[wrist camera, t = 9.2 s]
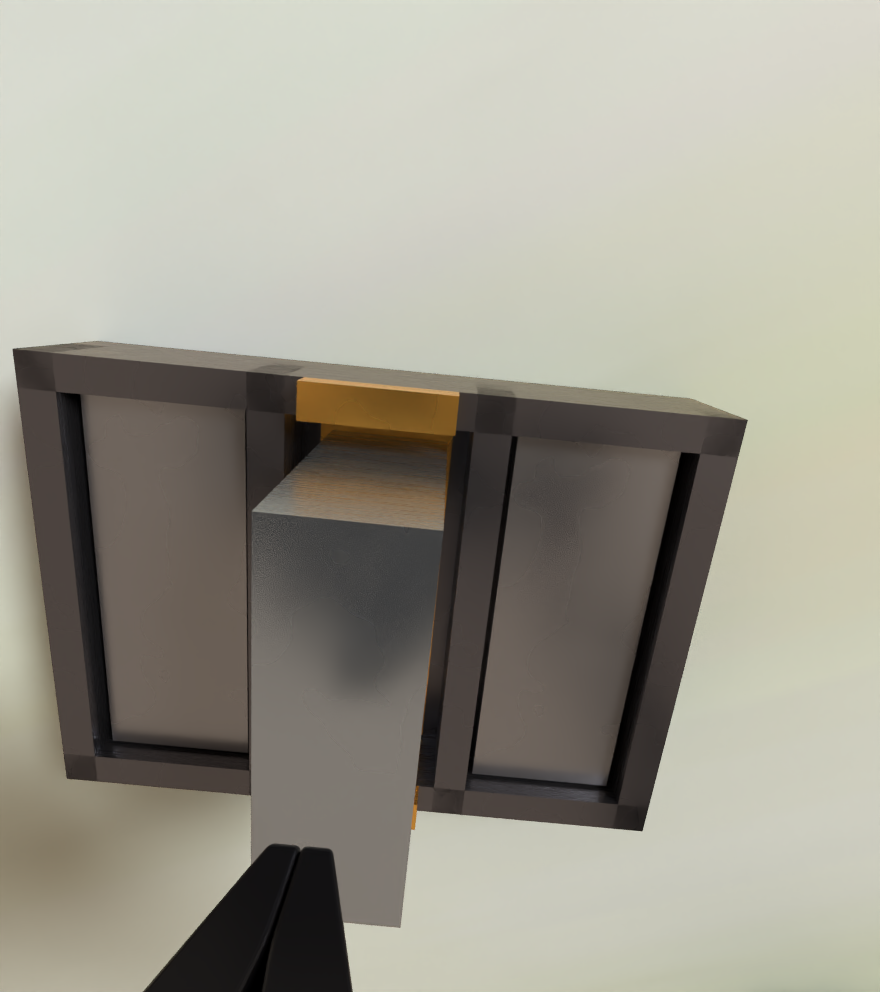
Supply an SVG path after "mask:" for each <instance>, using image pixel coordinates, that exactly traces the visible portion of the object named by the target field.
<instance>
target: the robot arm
mask: <svg viewBox="0 0 880 992" xmlns="http://www.w3.org/2000/svg"><path fill="white" fill-rule="evenodd" d="M143 992H353V991H352V983H351V976H350V969H349V962H348V954H347V947H346V940H345V933H344V925H343V918H342V911H341V904H340V897H339V889H338V882H337V875H336V868H335V860H334V854H333V851H332V850H331V849H329V848H321V847H310V846H307V847H304V848H303V849H302V850H301V849H300V847H299V846H296V845H289V844H278V843H274V844H271V845H269V846H267V847H266V848H265V849H264V851H263V852H262V853H261V854H260V855H259V856H258V858H257V859H256V860H255V861H254V862H253V863H252V865H251V866H250V867H249V868H248V869H247V870H246V872H245V873H244V874H243V875H242V876H241V878H240V879H239V880H238V881H237V882H236V883H235V885H234V886H233V887H232V888H231V889H230V890H229V892H228V893H227V894H226V895H225V896H224V897H223V899H222V900H221V901H220V902H219V903H218V904H217V906H216V907H215V908H214V909H213V910H212V912H211V913H210V914H209V915H208V916H207V917H206V919H205V920H204V921H203V922H202V923H201V924H200V926H199V927H198V928H197V929H196V930H195V931H194V933H193V934H192V935H191V936H190V937H189V939H188V940H187V941H186V942H185V943H184V944H183V946H182V947H181V948H180V949H179V950H178V951H177V953H176V954H175V955H174V956H173V957H172V958H171V960H170V961H169V962H168V963H167V964H166V965H165V967H164V968H163V969H162V970H161V971H160V973H159V974H158V975H157V976H156V977H155V978H154V980H153V981H152V982H151V983H150V984H149V985H148V987H147V988H146V989H145V990H144V991H143Z"/></svg>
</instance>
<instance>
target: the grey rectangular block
mask: <svg viewBox="0 0 880 992" xmlns="http://www.w3.org/2000/svg"><path fill="white" fill-rule="evenodd" d="M446 463H447V442H446V441H436V440H427V439H417V438H407V437H397V436H388V435H378V434H368V433H358V432H349V431H339V430H332V431H331V432H330V433H329V434H328V435H327V436H326V437H325V438H324V439H323V440H322V441H321V442H320V443H319V444H318V445H317V446H316V447H315V448H314V449H313V450H312V451H311V452H310V453H309V454H308V455H307V456H306V457H305V458H304V459H303V460H302V461H301V462H300V463H299V464H298V465H297V466H296V467H295V468H294V469H293V470H292V471H291V472H290V473H289V474H288V475H287V476H286V477H285V478H284V479H283V480H282V481H281V482H280V483H279V484H278V485H277V486H276V487H275V488H274V489H273V490H272V491H271V492H270V493H269V494H268V495H267V496H266V497H265V498H264V499H263V500H262V501H261V502H260V503H259V504H258V505H257V506H256V507H255V508H254V509H253V510H252V578H251V865H252V863H253V862H254V861H255V860H256V859H257V858H258V856H259V855H260V854H261V853H262V852H263V851H264V849H265V848H266V847H267V846H269V845H271V844H274V843H278V844H289V845H296V846H299V847H300V849H301V850H302V849H303V848H304V847H307V846H310V847H321V848H329V849H331V850H332V851H333V854H334V860H335V868H336V875H337V882H338V889H339V897H340V904H341V911H342V918H343V922H345V923H356V924H366V925H377V926H387V927H398V928H400V926H401V917H402V907H403V898H404V889H405V880H406V871H407V861H408V852H409V843H410V834H411V825H412V815H413V806H414V797H415V788H416V779H417V769H418V760H419V751H420V742H421V732H422V723H423V714H424V705H425V696H426V686H427V677H428V668H429V659H430V650H431V640H432V631H433V622H434V613H435V604H436V594H437V585H438V576H439V567H440V558H441V548H442V539H443V529H444V507H445V485H446Z"/></svg>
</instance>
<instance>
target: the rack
mask: <svg viewBox="0 0 880 992" xmlns="http://www.w3.org/2000/svg"><path fill="white" fill-rule="evenodd" d="M13 356H14V364H15V372H16V380H17V388H18V396H19V404H20V412H21V420H22V427H23V435H24V443H25V451H26V459H27V467H28V475H29V483H30V491H31V499H32V507H33V515H34V522H35V530H36V538H37V546H38V554H39V562H40V570H41V578H42V586H43V594H44V602H45V610H46V617H47V625H48V633H49V641H50V649H51V657H52V665H53V673H54V681H55V689H56V697H57V705H58V712H59V720H60V728H61V736H62V744H63V752H64V760H65V768H66V776H67V779H78V780H89V781H100V782H111V783H122V784H133V785H144V786H154V787H165V788H176V789H187V790H198V791H209V792H220V793H231V794H242V795H251V578H252V510H253V509H254V508H255V507H256V506H257V505H258V504H259V503H260V502H261V501H262V500H263V499H264V498H265V497H266V496H267V495H268V494H269V493H270V492H271V491H272V490H273V489H274V488H275V487H276V486H277V485H278V484H279V483H280V482H281V481H282V480H283V479H284V478H285V477H286V476H287V475H288V474H289V473H290V472H291V471H292V470H293V469H294V468H295V467H296V466H297V465H298V464H299V463H300V462H301V461H302V460H303V459H304V458H305V457H306V456H307V455H308V454H309V453H310V452H311V451H312V450H313V449H314V448H315V447H316V446H317V445H318V444H319V443H320V442H321V441H322V440H323V439H324V438H325V437H326V436H327V435H328V434H329V433H330V432H331V431H332V430H339V431H349V432H358V433H368V434H378V435H388V436H397V437H407V438H417V439H427V440H436V441H446V442H447V463H446V485H445V507H444V529H443V539H442V548H441V558H440V567H439V576H438V585H437V594H436V604H435V613H434V622H433V631H432V640H431V650H430V659H429V668H428V677H427V686H426V696H425V705H424V714H423V723H422V732H421V742H420V751H419V760H418V769H417V779H416V788H415V797H414V806H413V815H412V825H411V829H412V830H415V822H416V813H417V811H427V812H438V813H449V814H460V815H471V816H482V817H493V818H504V819H515V820H526V821H537V822H548V823H559V824H569V825H580V826H591V827H602V828H613V829H624V830H635V831H643V827H644V823H645V819H646V815H647V811H648V807H649V803H650V799H651V795H652V792H653V788H654V784H655V780H656V776H657V772H658V768H659V764H660V760H661V756H662V753H663V749H664V745H665V741H666V737H667V733H668V729H669V725H670V721H671V717H672V713H673V710H674V706H675V702H676V698H677V694H678V690H679V686H680V682H681V678H682V674H683V671H684V667H685V663H686V659H687V655H688V651H689V647H690V643H691V639H692V635H693V631H694V628H695V624H696V620H697V616H698V612H699V608H700V604H701V600H702V596H703V592H704V589H705V585H706V581H707V577H708V573H709V569H710V565H711V561H712V557H713V553H714V549H715V546H716V542H717V538H718V534H719V530H720V526H721V522H722V518H723V514H724V510H725V507H726V503H727V499H728V495H729V491H730V487H731V483H732V479H733V475H734V471H735V467H736V464H737V460H738V456H739V452H740V448H741V444H742V440H743V436H744V432H745V428H746V425H747V421H748V420H746V419H743V418H741V417H738V416H736V415H733V414H730V413H728V412H725V411H722V410H720V409H717V408H715V407H712V406H709V405H707V404H704V403H701V402H699V401H696V400H694V399H689V398H678V397H668V396H658V395H648V394H637V393H627V392H617V391H606V390H596V389H586V388H576V387H565V386H555V385H545V384H534V383H524V382H514V381H503V380H493V379H483V378H473V377H462V376H452V375H442V374H431V373H421V372H411V371H401V370H390V369H380V368H370V367H359V366H349V365H339V364H328V363H318V362H308V361H298V360H287V359H277V358H267V357H256V356H246V355H236V354H225V353H215V352H205V351H195V350H184V349H174V348H164V347H153V346H143V345H133V344H123V343H112V342H102V341H92V342H81V343H70V344H60V345H49V346H38V347H27V348H16V349H13Z"/></svg>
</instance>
